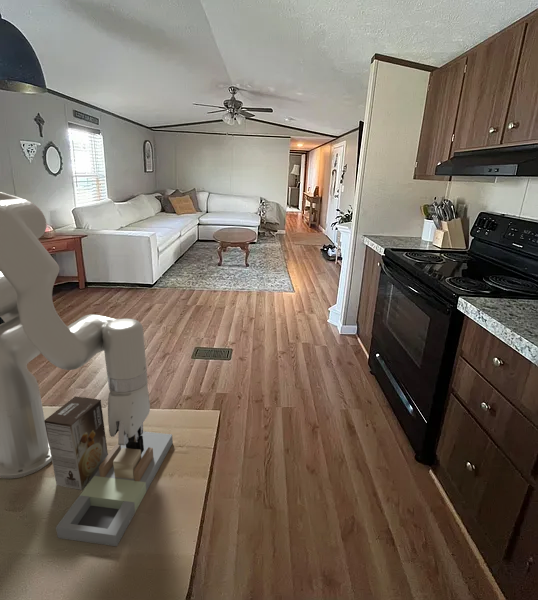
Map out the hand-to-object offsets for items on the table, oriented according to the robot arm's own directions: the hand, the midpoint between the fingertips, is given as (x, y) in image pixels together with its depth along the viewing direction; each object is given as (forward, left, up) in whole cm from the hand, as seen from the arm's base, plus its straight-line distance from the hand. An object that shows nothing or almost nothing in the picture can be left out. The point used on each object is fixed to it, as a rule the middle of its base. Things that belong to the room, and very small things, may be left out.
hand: (135, 452), depth 82 cm
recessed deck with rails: (0, -5, -4) cm, 6 cm away
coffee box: (-10, -4, -4) cm, 12 cm away
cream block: (0, -4, -1) cm, 4 cm away
